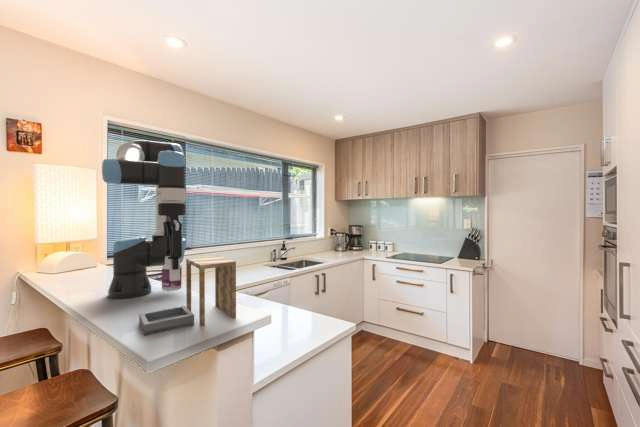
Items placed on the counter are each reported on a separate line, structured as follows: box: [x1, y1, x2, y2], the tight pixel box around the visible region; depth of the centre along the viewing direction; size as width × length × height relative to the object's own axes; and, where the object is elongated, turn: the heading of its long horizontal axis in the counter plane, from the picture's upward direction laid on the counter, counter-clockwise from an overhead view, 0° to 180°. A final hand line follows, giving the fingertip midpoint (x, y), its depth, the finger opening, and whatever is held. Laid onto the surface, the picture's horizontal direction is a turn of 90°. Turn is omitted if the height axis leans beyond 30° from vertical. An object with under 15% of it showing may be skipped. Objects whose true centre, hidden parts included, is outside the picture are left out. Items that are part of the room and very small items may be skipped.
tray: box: [138, 305, 195, 337], centre depth 90 cm, size 11×13×3 cm
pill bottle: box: [161, 258, 183, 292], centre depth 91 cm, size 5×5×10 cm
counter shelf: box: [185, 255, 237, 327], centre depth 98 cm, size 16×11×18 cm
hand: (172, 278), depth 91 cm, fingers closed on pill bottle, 5 cm apart
